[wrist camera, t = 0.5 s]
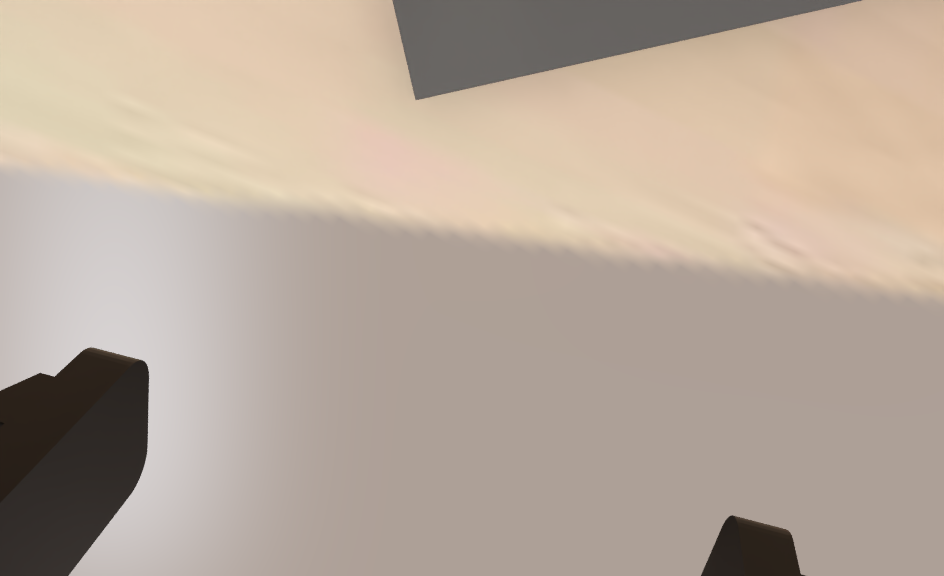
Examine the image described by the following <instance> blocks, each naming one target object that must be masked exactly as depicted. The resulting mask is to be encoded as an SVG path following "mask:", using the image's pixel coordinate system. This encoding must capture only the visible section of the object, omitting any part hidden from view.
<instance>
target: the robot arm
mask: <svg viewBox="0 0 944 576" xmlns="http://www.w3.org/2000/svg"><path fill="white" fill-rule="evenodd" d="M148 388H149V371H148V367H147V364H146V363H145V362H144V361H142V360H139V359H135V358H131V357H127V356H123V355H119V354H115V353H112V352H107V351H104V350H100V349H96V348H87V349H85V350H83V351H82V352H81V353H80V354H79V355H77V356H76V357H75V358H74V359H73V360H72V361H71V362H70V363H69V364H68V365H67V366H66V367H65V368H64V369H62V370H61V371H60V372H59V373H58V374H57V375H56V376H55V377H53V376H50V375H46V374H42V373H39V374H37V375H35V376H32V377H30V378H28V379H26V380H23V381H21V382H19V383H17V384H15V385H12V386H10V387H8V388H5V389H4V390H1V391H0V576H68V575H69V574H70V573H71V571H72V570H73V569H74V567H75V566H76V565H77V563H78V562H79V561H80V560H81V558H82V557H83V556H84V554H85V553H86V552H87V551H88V549H89V548H90V547H91V545H92V544H93V543H94V542H95V540H96V539H97V537H98V536H99V535H100V534H101V532H102V531H103V530H104V528H105V527H106V526H107V524H108V523H109V522H110V521H111V519H112V518H113V517H114V515H115V514H116V513H117V512H118V510H119V509H120V508H121V506H122V505H123V504H124V502H125V501H126V499H128V497H129V496H130V494H131V493H132V492H133V490H134V488H135V487H136V484H137V483H138V480H139V478H140V476H141V473H142V470H143V467H144V464H145V460H146V455H147V442H148V393H149V389H148ZM701 576H804V575H801V574H800V569H799V565H798V560H797V556H796V551H795V547H794V542H793V538H792V535H791V533H790V532H789V531H788V530H786V529H782V528H779V527H775V526H771V525H767V524H763V523H759V522H755V521H752V520H748V519H744V518H740V517H736V516H730V517H728V518H727V520H726V521H725V523H724V524H723V526H722V529H721V531H720V533H719V536H718V538H717V540H716V543H715V545H714V547H713V549H712V552H711V554H710V556H709V559H708V561H707V563H706V565H705V568H704V570H703V572H702V575H701Z"/></svg>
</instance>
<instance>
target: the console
mask: <svg viewBox="0 0 944 576" xmlns="http://www.w3.org/2000/svg"><path fill="white" fill-rule="evenodd" d="M857 1H861V0H393V4H394V9H395V13H396V17H397V22H398V26H399V30H400V35H401V39H402V43H403V47H404V52H405V56H406V60H407V65H408V69H409V73H410V78H411V82H412V86H413V91H414V95H415V99H416V100H419V99H423V98H427V97H432V96H436V95H441V94H445V93H450V92H454V91H459V90H463V89H468V88H472V87H477V86H481V85H486V84H490V83H495V82H499V81H504V80H508V79H512V78H517V77H521V76H526V75H530V74H535V73H539V72H544V71H548V70H553V69H557V68H562V67H566V66H571V65H575V64H580V63H584V62H589V61H593V60H597V59H602V58H606V57H611V56H615V55H620V54H624V53H629V52H633V51H638V50H642V49H647V48H651V47H656V46H660V45H665V44H669V43H674V42H678V41H683V40H687V39H691V38H696V37H700V36H705V35H709V34H714V33H718V32H723V31H727V30H732V29H736V28H741V27H745V26H750V25H754V24H759V23H763V22H768V21H772V20H776V19H781V18H785V17H790V16H794V15H799V14H803V13H808V12H812V11H817V10H821V9H826V8H830V7H835V6H839V5H844V4H848V3H853V2H857Z"/></svg>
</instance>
